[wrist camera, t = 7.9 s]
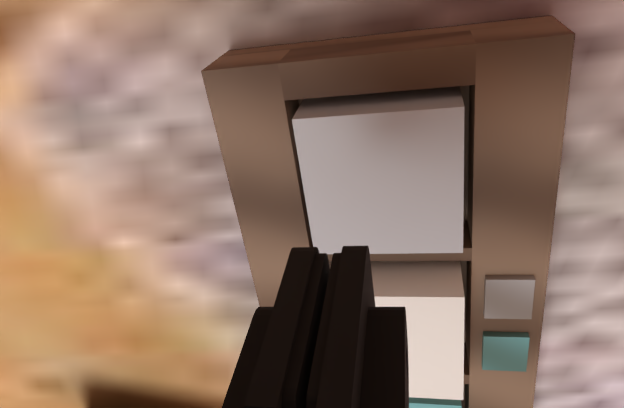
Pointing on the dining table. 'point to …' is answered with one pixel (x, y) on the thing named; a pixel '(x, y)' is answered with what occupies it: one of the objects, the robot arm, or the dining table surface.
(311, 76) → the key panel
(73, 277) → the dining table surface
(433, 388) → the cream key
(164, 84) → the dining table surface
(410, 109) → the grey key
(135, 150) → the dining table surface
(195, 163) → the dining table surface
